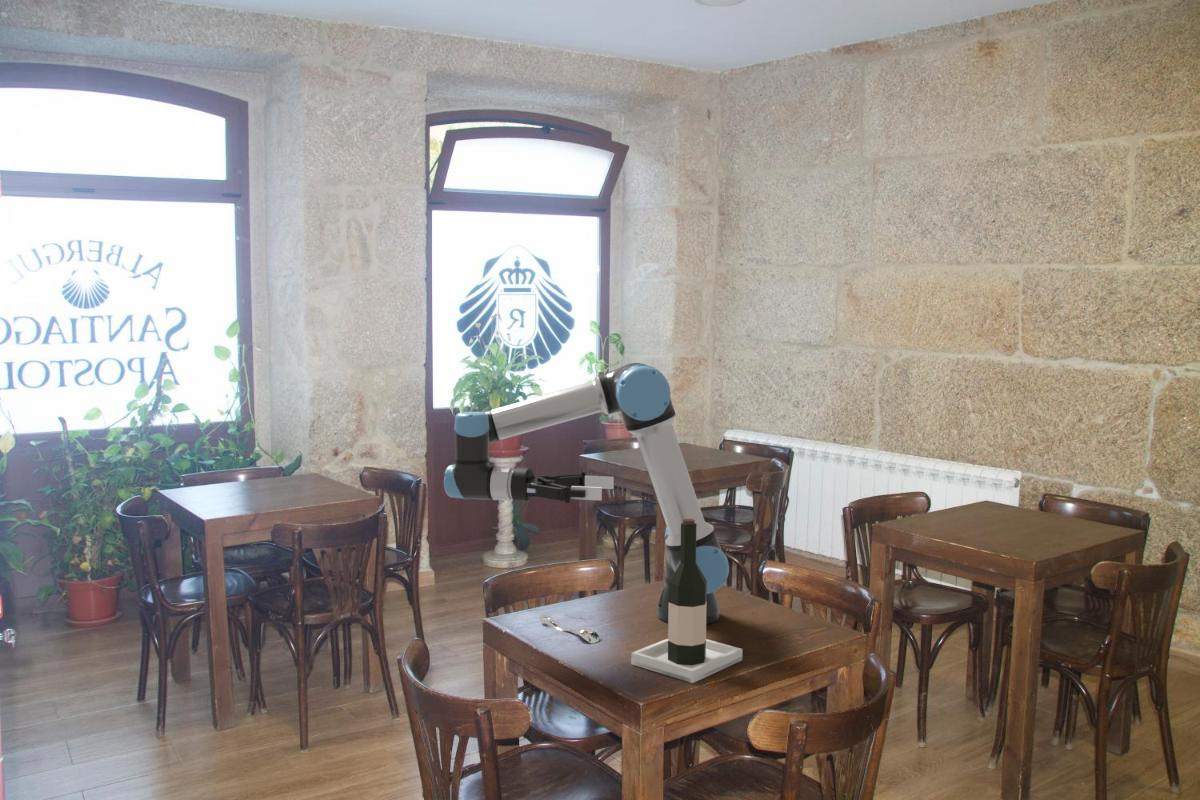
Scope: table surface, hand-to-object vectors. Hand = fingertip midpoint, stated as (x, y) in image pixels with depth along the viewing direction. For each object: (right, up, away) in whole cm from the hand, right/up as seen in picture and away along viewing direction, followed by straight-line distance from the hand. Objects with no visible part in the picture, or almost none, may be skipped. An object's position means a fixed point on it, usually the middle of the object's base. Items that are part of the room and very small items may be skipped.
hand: (607, 488), depth 221 cm
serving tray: (+17, -37, -5) cm, 41 cm away
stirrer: (-9, -35, +15) cm, 40 cm away
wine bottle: (+17, -36, -5) cm, 40 cm away
